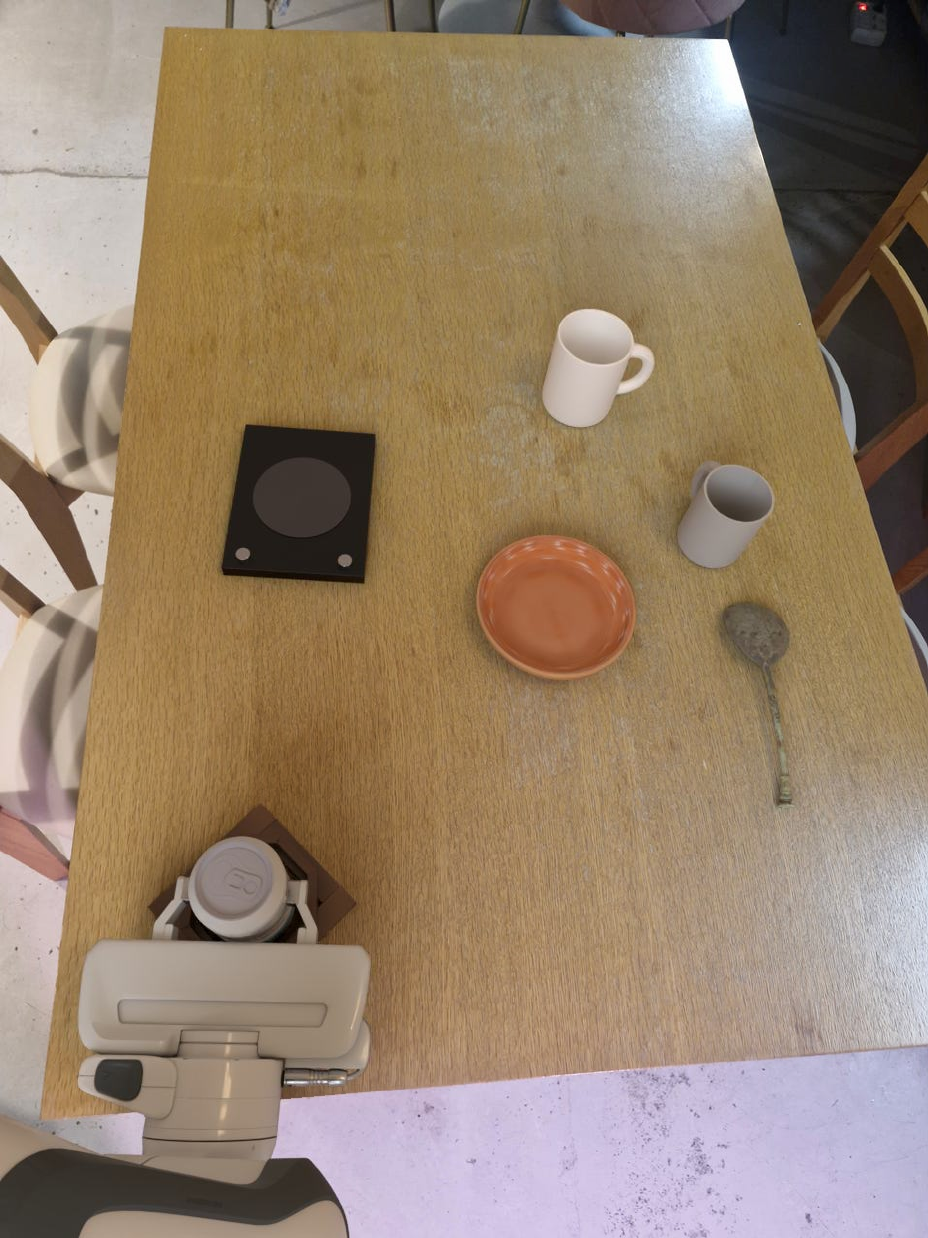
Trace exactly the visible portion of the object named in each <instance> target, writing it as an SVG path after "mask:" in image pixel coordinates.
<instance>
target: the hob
mask: <svg viewBox="0 0 928 1238" xmlns="http://www.w3.org/2000/svg"><path fill="white" fill-rule="evenodd" d="M376 437H377V435H376V433H369V432H357V431H356V432H355V431H343V430H328V429H316V428H303V427H302V428H301V427H289V426H275V425H263V424H247V423H245V426H244V430H243V435H242V443H241V447H240V449H241V450H240V454H239V460H238V465H237V472H236V478H235V483H234V490H233V495H232V501H231V508H230V514H229V520H228V525H227V531H226V538H225V543H224V549H223V555H222V561H221V566H220V568H221V571H222V575H223V576H229V577H230V576H233V577H247V578H262V579H264V578H265V579H278V580H279V579H280V580H295V581H296V580H298V581H314V582H327V583H329V582H330V583H347V584H348V583H349V584H361V585H362V584H363V585H364V584H365V581H366V570H367V558H368V557H367V554H368V546H369V545H368V544H369V543H368V541H369V531H370V517H371V505H372V494H373V493H372V492H373V483H374V482H373V481H374V480H373V479H374V469H375V468H374V466H375V457H376V443H377V442H376V441H377V439H376Z"/></svg>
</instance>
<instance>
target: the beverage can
mask: <svg viewBox="0 0 928 1238" xmlns="http://www.w3.org/2000/svg"><path fill="white" fill-rule="evenodd" d="M219 841H220V840H219ZM219 841H217V842H216V843H215V844H213V845H211V846H210V847H208V848H207V849H206V850H205V851H204V852H203V853H202V854H201V855H200V856H199V858H198V860H197V861H196V862H197V863H196V862H195V863H196V864H195V863H194V864H195V866H194V868H193V870H192V873H191V876H190V880H189V887H188V893H189V901H190V904H191V907H192V910H193V912H194V913H195V915H196V916H197V918H198V920H199V922H200V923H202V925H204V926H205V927H206V928H207V929H209V930H210V931H212V932H213V933H214V934H215V935H217V937H220V938H221V939H222V940H223V941H224V942H252V943H273V942H275V940H277V939H278V938H279V937H280V936H281V935H282V934H283V933H284V932H285V931H286V930H287V928H288V926H289V925H290V923H291V921H292V919H293V917H294V914H295V909H296V907H287V904H286V903H285V902H286V898H287V893H288V880H291V879H290V876H289V874H288V872H287V870H286V868H285V864H284V863H283V862H282V861H281V859H280V857H279V856H278V854H277V853H276V852H275V851H274V850H273V849H272V848H271V847H270V846H269V845H268V844H266V843H265V842H263V841H261V840H258V839H256V838H252V837H244V836H240V837H232V838H228V839H225V840H222V841H220V842H219Z"/></svg>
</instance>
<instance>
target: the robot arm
mask: <svg viewBox="0 0 928 1238" xmlns="http://www.w3.org/2000/svg"><path fill="white" fill-rule="evenodd" d="M177 879H178V880H177ZM177 879H176V880H177V884H176V890H175V896H174V900H172V901H171V902H170V904H169V905H168V906H167V907H166V909H165V910H164V911H163V913H162V914H161V915H160V917H159V918H158V919H157V918H156V920H155V922H154V923H153V929H152V934H151V939H137V938H136V939H135V938H134V939H133V938H101V939H99V940H98V941H96V943H95V944H94V945H92V947H91V948H89V950H88V951H87V953H86V955H85V959H84V963H83V967H82V974H81V981H80V988H79V999H78V1013H77V1028H78V1029H77V1030H78V1035H79V1037H80V1040H81V1043H82V1044H83V1046H85V1048H86V1049H87V1050H89V1051H90V1052H92V1053H95V1054H92V1055H89V1056H87V1057H86V1058H84V1059H83V1061H82V1062H81V1064H80V1067H79V1071H78V1076H77V1086H78V1088H79V1089H80V1090H81V1091H83V1092H84V1093H86V1094H88V1095H91V1096H93V1097H95V1098H99V1099H101V1100H104V1101H107V1102H109V1103H112V1104H114V1105H117V1106H120V1107H122V1108H124V1109H127V1110H131V1111H132V1112H136V1113H137V1114H140V1115H143V1117H144V1124H143V1128H142V1133H141V1145H142V1146H141V1149H142V1150H141V1154H131V1153H130V1154H129V1153H126V1154H125V1153H99V1152H96V1151H94V1150H92V1149H89V1148H86V1147H84V1146H82V1145H79V1144H78V1143H77V1144H76V1143H74V1142H72V1141H69V1140H67V1139H65V1138H62V1137H59V1136H57V1135H55V1134H53V1133H49V1132H47V1131H45V1130H43V1129H40V1128H37V1127H34V1126H32V1125H30V1124H27V1123H25V1122H22V1121H20V1120H17V1119H14V1118H12V1117H9V1116H6V1115H5V1114H1V1113H0V1238H351V1237H350V1230H349V1229H350V1228H349V1224H348V1218H347V1215H346V1212H345V1210H344V1207H343V1205H342V1203H341V1201H340V1199H339V1198H338V1196H337V1194H336V1192H335V1190H334V1189H333V1187H332V1186H331V1184H330V1183H329V1181H328V1179H327V1178H326V1177H325V1176H324V1174H323V1172H321V1170H320V1169H319V1168H318V1167H317V1166H316V1165H315V1163H314V1162H313V1161H312V1160H311V1159H310V1158H308V1157H278V1158H277V1157H275V1158H273V1157H272V1156H273V1154H274V1151H275V1148H276V1145H277V1140H278V1131H279V1120H280V1119H279V1118H280V1111H281V1110H280V1109H281V1100H282V1090H283V1088H284V1087H285V1088H286V1087H288V1088H290V1087H291V1088H292V1087H295V1088H296V1087H297V1088H305V1087H313V1086H327V1087H329V1088H340V1087H346V1086H347V1085H348V1081H353V1080H356V1079H357V1078H359V1077H360V1076H361V1075H362V1074H363V1073H364V1072H365V1071H366V1069H367V1068H368V1066H369V1063H370V1060H371V1050H372V1030H371V1026H370V1024H369V1023H368V1021H367V1019H365V1017H364V1015H365V1010H366V1004H367V999H368V993H369V986H370V979H371V968H372V957H371V955H370V953H368V951H367V950H366V949H365V947H364V946H362V945H359V944H327V943H326V944H323V943H322V944H321V943H318V932H319V931H318V929H317V927H316V924H315V922H314V920H313V918H312V915H311V913H310V911H309V909H308V906H307V895H308V881H307V880H299V879H290V880H288V893H287V898H286V902H285V903H286V904H287V907H295V908H297V909H298V912H299V914H300V916H301V919H302V921H303V922H304V923H305V925H306V929H305V928H299V929H298V936H297V944H290V943H283V942H271V943H252V942H226V941H215V940H214V941H215V942H214V941H177V938H178V931H179V929H178V928H177V927H175V926H174V925H173V924H174V922H175V921H176V920H177V918H178V917H179V915H180V914H181V913H182V911H183V910H184V908H185V907H186V906H187V904H190V901H189V893H188V887H189V880H190V877H189V876H182V875H178V877H177ZM284 1059H285V1060H284ZM348 1070H355V1071H353V1072H351V1073H349V1071H348ZM348 1073H349V1074H348Z"/></svg>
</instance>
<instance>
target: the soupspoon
mask: <svg viewBox="0 0 928 1238" xmlns="http://www.w3.org/2000/svg"><path fill="white" fill-rule="evenodd" d="M723 623H724V626H725V628H726V631H727V633H728V635H729V636H730V638H731V639H732V641H733V642H734V644H735V645H736V646H737V647H738V648H739V649H740V650H741V651H742V652H743V653H744V654H745V655H746V656H747V657H748V658H749V659H750V660H752V662H754V663H755V664H757V665H758V666H760V670H761V672H762V676H763V680H764V684H765V685H764V686H765V688H766V694H767V698H768V703H769V709H770V714H771V718H772V724H773V730H774V734H775V735H774V736H775V741H776V747H777V754H778V760H779V766H780V771H781V772H780V774H779V778H780V779H781V783H780V786H779V789H780V793H781V794H780V795H779V800H781V802H779V803H777V804H776V805H775V806H776V807H777V808H784V809H794V808H798V806H797V804H795V803H792V801H793V799H794V798H793V796H792V787H791V784H790V782H789V780H790V779H791V775H789V767H788V759H787V753H786V752H787V751H786V745H785V739H784V738H785V737H784V733H783V727H782V720H781V716H780V715H781V714H780V710H779V703H778V698H777V691H776V686H775V682H774V681H775V680H774V677H773V673H772V672H773V671H772V669H771V668H772V666H774V665H775V664H777V663H778V662H780V660H781V659H782V658H783V657H784V655H785V654H786V652H787V650H788V648H789V646H790V640H791V637H790V632H789V628H788V626H787V624H786V621H784V619H783V618H782V617H781V616H780V614H778V613H777V612H776V611H774V610H772V609H771V608H769V607H766V606H764V605H762V604H758V603H756V602H755V603H754V602H737V603H735V604H734V603H733V604H731V605H730V606H727V607H726V609H725V610H724V612H723Z"/></svg>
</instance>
